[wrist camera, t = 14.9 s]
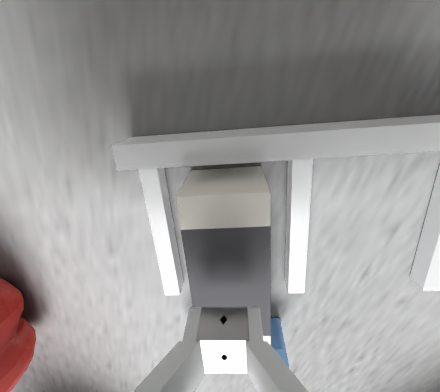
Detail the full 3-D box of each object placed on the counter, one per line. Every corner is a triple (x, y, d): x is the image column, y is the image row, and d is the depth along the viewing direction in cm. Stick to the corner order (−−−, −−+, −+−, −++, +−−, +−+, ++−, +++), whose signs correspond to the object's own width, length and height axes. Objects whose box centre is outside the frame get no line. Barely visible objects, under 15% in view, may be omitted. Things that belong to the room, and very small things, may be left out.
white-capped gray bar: (260, 166, 14) (270, 192, 10) (263, 301, 18) (270, 355, 14) (191, 170, 14) (175, 197, 10) (207, 301, 18) (200, 355, 14)
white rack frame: (673, 97, 11) (785, 98, 9) (571, 274, 15) (632, 306, 13) (131, 136, 14) (110, 145, 11) (162, 282, 17) (151, 311, 15)
